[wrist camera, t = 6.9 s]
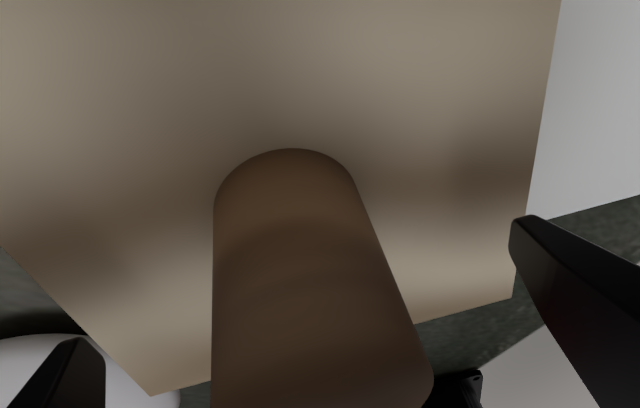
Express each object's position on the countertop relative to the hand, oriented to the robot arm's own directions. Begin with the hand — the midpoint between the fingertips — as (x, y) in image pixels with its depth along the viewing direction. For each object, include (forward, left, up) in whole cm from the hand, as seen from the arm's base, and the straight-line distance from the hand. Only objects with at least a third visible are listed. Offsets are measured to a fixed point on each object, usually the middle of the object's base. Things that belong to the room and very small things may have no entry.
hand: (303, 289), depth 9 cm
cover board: (0, 0, -4) cm, 4 cm away
